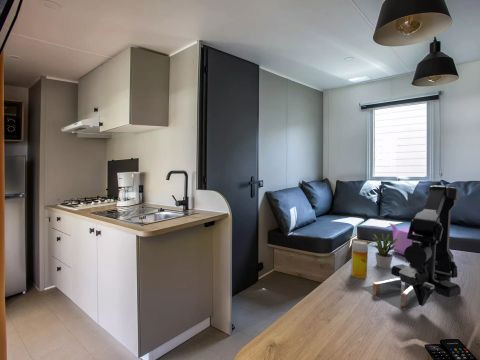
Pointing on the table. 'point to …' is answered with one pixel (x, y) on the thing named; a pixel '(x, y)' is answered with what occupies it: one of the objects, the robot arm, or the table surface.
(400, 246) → the teapot
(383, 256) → the house plant
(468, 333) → the table surface
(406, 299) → the tongs hinged arm
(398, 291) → the charcoal mat
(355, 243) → the beer can
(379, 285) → the arm
